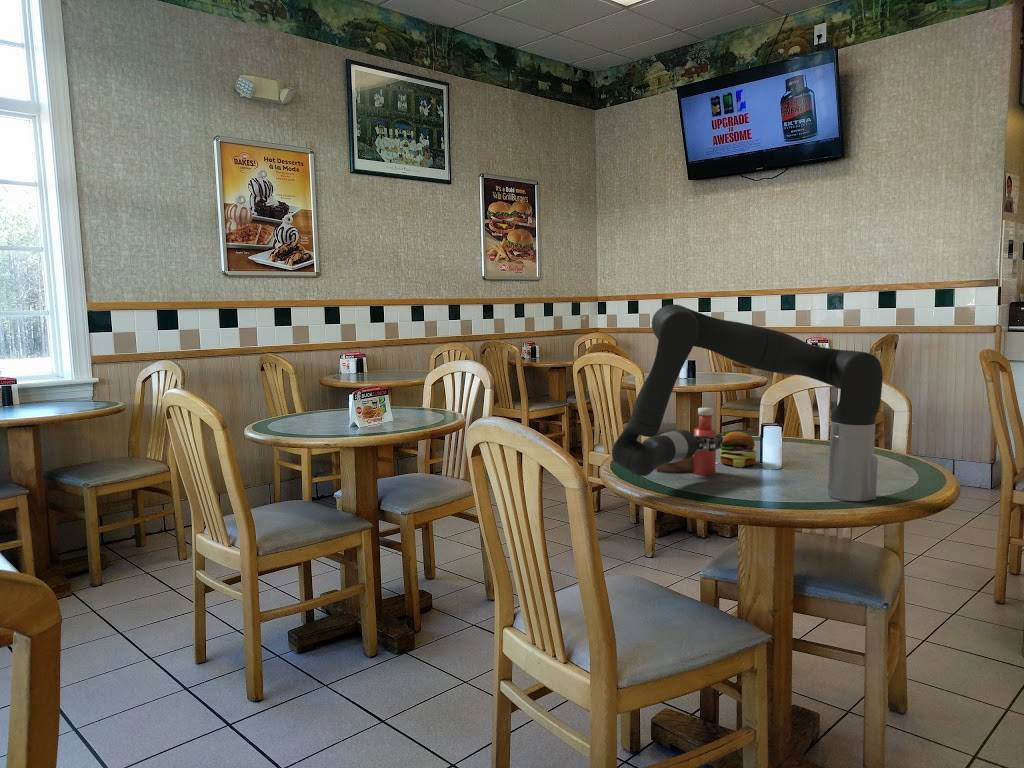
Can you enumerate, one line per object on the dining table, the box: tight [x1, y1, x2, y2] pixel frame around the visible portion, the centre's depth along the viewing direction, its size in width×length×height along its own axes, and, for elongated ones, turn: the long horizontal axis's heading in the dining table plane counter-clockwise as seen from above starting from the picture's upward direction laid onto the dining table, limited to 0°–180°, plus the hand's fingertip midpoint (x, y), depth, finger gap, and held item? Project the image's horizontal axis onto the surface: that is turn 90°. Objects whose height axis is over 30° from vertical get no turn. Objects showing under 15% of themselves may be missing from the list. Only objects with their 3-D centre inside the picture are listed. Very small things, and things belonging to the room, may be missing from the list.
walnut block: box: [654, 455, 694, 473], centre depth 204 cm, size 10×10×4 cm
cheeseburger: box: [718, 431, 757, 469], centre depth 209 cm, size 10×11×10 cm
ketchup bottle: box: [692, 407, 717, 476], centre depth 196 cm, size 6×6×17 cm
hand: (709, 437), depth 198 cm, fingers closed on ketchup bottle, 5 cm apart
